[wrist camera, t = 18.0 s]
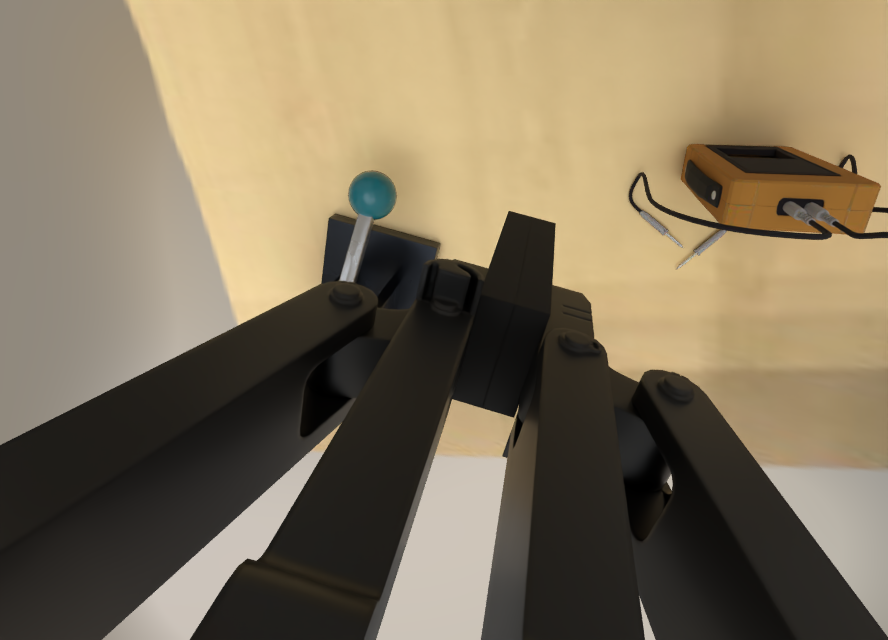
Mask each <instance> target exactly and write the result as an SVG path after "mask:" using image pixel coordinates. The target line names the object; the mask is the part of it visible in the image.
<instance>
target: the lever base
mask: <svg viewBox="0 0 888 640" xmlns="http://www.w3.org/2000/svg"><path fill="white" fill-rule="evenodd" d="M355 224H356V220H355V219H352V218H348V217H345V216H341V215H338V214H334V215H333V216H331V217H330V218H329V221H328V230H327V239H326V248H325V257H324V265H323V274H322V283H321V284H324V283H327V282H335V281H339V279H340V276H341V272H342V269H343V265H344V262H345V258H346V255H347V252H348V248H349V245H350V241H351V238H352V234H353V231H354V227H355ZM439 248H440V243H438V242H435V241H431V240H427V239H424V238H420V237H417V236H413V235H409V234H406V233H402V232H399V231H395V230H391V229H388V228H384V227H381V226H377V225H373V227H372V230H371V234H370V237H369V241H368V244H367V248H366V251H365V255H364V258H363V262H362V265H361V269H360V272H359V276H358V279H357V282H356V284H358V285H362V286H364V287H366V288H368V289H370V290H371V291H373V292H374V294H375V295H376V296H377V298H378V305H377V308H384V309H396V310H401V309H409V308H411V306H412V304H413V303H414V301H415V299H416V295H417V290H418V286H419V281H420V276H421V272H422V267H423V264H424V263H425V262H427V261H428V260H433V259H437V257H438V253H439Z"/></svg>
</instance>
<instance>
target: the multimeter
mask: <svg viewBox="0 0 888 640" xmlns="http://www.w3.org/2000/svg"><path fill="white" fill-rule="evenodd" d="M849 158H850V161H851V165H852V172H850V171H848V170H845V169H843V167H844V165H845V164H846V162H847V160H848V159H849ZM641 176H642V177H643V181H644V186H645V191H646V195H647V198H648V200H649V201H650V203H651V204H652V205H653V206H655V207H656V208H658V209H659V210H661V211H663V212H665V213H667V214H669V215H672V216H674V217H677V218H679V219H683V220H686V221H689V222H692V223H696V224H700V225H704V226H708V227H712V228H717V229H722V230H720V231H718V232H717V233H716V234H714V235H713V236H712V237H711V238H710V239H708V240H707V241H706V242H705V243H703V244H702V245H701V246H700V247H698V248H697V249H695V250H694V252H695V253H694V254H692V255H691V256H690V257H689V258H687V259H686V260H685V261H684V262H683V263H681V264H680V265H679V266H678V267H677V268H676V269H678V268H680V267H681V266H683V265H684V264H685V263H686V262H688V261H689V260H690V259H691V258H693V257H694V256H695V255H696V254H697V255H698V256H699V255H700V253H702V252H703V251H704V250H705V249H707V248H708V247H709V246H710V245H712V244H713V243H714V242H715V241H717V240H718V239H719V238H721V237H722V236H723V235H724V234H725V233H726V231H733V232H739V233H745V234H753V235H761V236H770V237H781V238H793V239H809V240H824V239H828V238H830V237H831V236H832V233H835V234H847V235H849V236H850V237H853V238H856V239H873V238H888V232H876V233H864V232H865V229H866V227H867V224H868V221H869V218H870V216H871V213H872V212H883V213H888V208H880V207H874V204H875V202H876V199H877V196H878V193H879V191H880V188H881V186H880V184H879V183H876V182H874V181H871V180H869V179H867V178H864V177H862V176H860V175H857V167H856V161H855V158H854V156H852V155H848V156H846V157H845V158H844V159H843V161H842V163H841V164H840V166H839V167H838V166H836V165H833V164H831V163H828V162H826V161H824V160H821V159H819V158H816V157H814V156H811V155H809V154H806V153H804V152H801V151H799V150H796V149H794V148H792V147H780V146H774V147H770V146H732V145H704V144H691V145H689V146H688V147H687V151H686V156H685V161H684V166H683V171H682V176H681V180H682V182H684V183H685V185H686V186H687V187H688V188H689V189H690V190H691V192H692V193H693V194H694V195H695V196H696V198H697V199H698V200H699V201H700V202H701V203H702V204H703V205H704V206H705V208H706V209H707V210H708V211H709V212H710V213H711V214H712V215H713V216H714V217H715V219H716V220H717V221H718V222H719V223H715V222H710V221H706V220H702V219H698V218H694V217H691V216H687V215H684V214H681V213H678V212H675V211H672V210H670V209H668V208H665V207H663V206H662V205H660V204H658V203H657V202H655V201H654V200H653V198H652V196H651V193H650V190H649V186H648V181H647V177H646V175H645V174H644V172H642V173H639V174H638V176H637V177H636V179H635V181H634V182H633V184H632V186H631V189H630V192H629V200H630V203H631V204H632V206H633V207H634V208H635V209H636V210H637V211H638V212H639V214H640V215H641V216H642V217H643V218H644V219H645V220H646V221H647V222H649V223H650V224H651V225H652V226H653V227H654V228H656V229H657V230H658V231H659V232H660V233H661V234H662V235H663V236H664V235H665V234H666V235H667V236H668V237H669V238H670V239H671V240H673V241H674V242H675V243H676V244H677V245H679V246H680V247H682V248H683V246H682V245H681V244H680V243H679V242H678V241H677V240H675V239H674V238H673V237H672V236H671V235H670V234H668V233H667V232H668V229H665V228H664V227H663V226H662V225H661V224H660V223H658V222H657V221H656V220H655V219H654V218H653V217H651V216H650V215H649V214H648V213H646V212H645V211H643V210H641V209H640V208H638V207H637V206H636V205H635V203H634V202H633V200H632V193H633V189H634V187H635V185H636V183H637V182H638V180H639V178H640V177H641ZM769 230H777V231H769ZM780 231H797V232H816V233H822V234H807V233H792V232H780Z"/></svg>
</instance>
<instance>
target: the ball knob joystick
mask: <svg viewBox="0 0 888 640" xmlns="http://www.w3.org/2000/svg"><path fill="white" fill-rule="evenodd" d="M348 197H349V202H350V205H351V207H352V208H353V210H354V211H355V212H356V213H357V214H358V217H357V220H356V224H355V227H354V231H353V234H352V238H351V241H350V245H349V248H348V252H347V255H346V258H345V262H344V265H343V269H342V272H341V276H340V279H339V281H347V282H348V281H350V282H355V283H356V282H357V279H358V276H359V272H360V269H361V265H362V262H363V258H364V255H365V251H366V248H367V244H368V241H369V237H370V234H371V230H372V227H373V223H374V220H376V219H381V218H383V217H385V216H387V215H388V214H389V213H390V212H391V211H392V209H393V208H394V206H395V203H396V198H397V194H396V189H395V186H394V184H393V182H392V181H391V179H390V178H389V177H388V176H386V175H385V174H383V173H381V172H378V171H366V172H363V173H361V174H359V175H357V176H356V177H355V178H354V179H353V181H352V183H351V184H350V187H349V192H348Z"/></svg>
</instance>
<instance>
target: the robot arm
mask: <svg viewBox="0 0 888 640" xmlns="http://www.w3.org/2000/svg"><path fill="white" fill-rule="evenodd" d="M555 224H556V223H552V222H548V221H545V220H541V219H537V218H533V217H530V216H526V215H522V214H519V213H515V212H511V211H509V212H508V215H507V218H506V220H505V223H504V226H503V229H502V232H501V235H500V238H499V240H498V243H497V246H496V249H495V252H494V255H493V257H492V260H491V263H490V266H489V269H488V268H484V267H481V266H477V265H474V264H470V263H466V262H463V261H459V260H456V259H454V260H449V259H433V260H428V261H427V262H425V263H424V264H423V267H422V272H421V276H420V281H419V286H418V290H417V295H416V299H415V301H414V303H413V304H412V306H411V308H409V309H401V310H396V309H384V308H377V305H378V298H377V296H376V295H375V294H374V292H373V291H371V290H370V289H368V288H366V287H364V286H362V285H358V284H356V283H355V282H350V281H348V282H347V281H335V282H327V283H324V284H320V285H318V286H316V287H314V288H312V289H310V290H308V291H306V292H304V293H302V294H300V295H298V296H296V297H294V298H292V299H290V300H288V301H286V302H284V303H282V304H280V305H278V306H276V307H274V308H272V309H270V310H268V311H266V312H264V313H262V314H260V315H258V316H256V317H254V318H252V319H250V320H248V321H246V322H244V323H242V324H240V325H239V326H237V327H235V328H233V329H231V330H229V331H227V332H225V333H223V334H221V335H219V336H217V337H215V338H213V339H211V340H209V341H207V342H205V343H203V344H201V345H199V346H197V347H195V348H193V349H191V350H189V351H187V352H185V353H183V354H181V355H179V356H177V357H175V358H173V359H171V360H169V361H167V362H165V363H163V364H161V365H159V366H157V367H155V368H153V369H151V370H149V371H147V372H145V373H143V374H141V375H139V376H137V377H135V378H133V379H131V380H129V381H127V382H125V383H123V384H121V385H119V386H117V387H115V388H113V389H111V390H109V391H107V392H105V393H103V394H101V395H99V396H97V397H95V398H93V399H91V400H89V401H87V402H85V403H83V404H81V405H79V406H77V407H75V408H73V409H71V410H70V411H67V412H66V413H63V414H61V415H60V416H58V417H55V418H54V419H51V420H49V421H48V422H46V423H43V424H42V425H40V426H38V427H36V428H34V429H32V430H30V431H28V432H26V433H24V434H22V435H20V436H18V437H16V438H14V439H12V440H10V441H8V442H6V443H4V444H2V445H0V640H102V639H103V638H104V637H105V636H106V635H107V634H108V633H110V632H111V631H112V630H113V629H114V628H115V627H116V626H117V625H118V624H119V623H121V622H122V621H123V620H124V619H125V618H126V617H127V616H128V615H129V614H130V613H132V612H133V611H134V610H135V609H136V608H137V607H138V606H139V605H141V604H142V603H143V602H144V601H145V600H146V599H147V598H148V597H149V596H150V595H152V594H153V593H154V592H155V591H156V590H157V589H158V588H159V587H160V586H162V585H163V584H164V583H165V582H166V581H167V580H168V579H169V578H170V577H171V576H173V575H174V574H175V573H176V572H177V571H178V570H179V569H180V568H181V567H182V566H184V565H185V564H186V563H187V562H188V561H189V560H190V559H191V558H192V557H194V556H195V555H196V554H197V553H198V552H199V551H200V550H201V549H202V548H204V547H205V546H206V545H207V544H208V543H209V542H210V541H211V540H212V539H213V538H215V537H216V536H217V535H218V534H219V533H220V532H221V531H222V530H223V529H225V527H227V526H228V525H229V524H230V523H231V522H232V521H233V520H234V519H235V518H237V517H238V516H239V515H240V514H241V513H242V512H243V511H244V510H245V509H247V508H248V507H249V506H250V505H251V504H252V503H253V502H254V501H255V500H257V499H258V498H259V497H260V496H261V495H262V494H263V493H264V492H265V491H266V490H267V489H269V488H270V487H271V486H272V485H273V484H274V483H275V482H276V481H277V480H278V479H280V478H281V477H282V476H283V475H284V474H285V473H286V472H287V471H289V470H290V469H291V468H292V467H293V466H294V465H295V464H296V463H297V462H299V461H300V460H301V459H302V458H303V457H304V456H305V455H306V454H307V453H309V452H310V451H311V450H312V449H313V448H314V447H315V446H316V445H317V444H319V443H320V442H321V441H322V440H323V439H324V438H325V437H326V436H327V435H328V434H330V433H331V432H332V431H333V430H334V429H335V428H336V427H337V426H338V425H340V424H341V423H342V424H341V425H340V427H339V429H338V430H337V432H336V434H335V435H334V437H333V439H332V440H331V442H330V444H329V445H328V447H327V449H326V450H325V452H324V454H323V455H322V457H321V459H320V460H319V462H318V464H317V466H316V467H315V469H314V471H313V472H312V474H311V476H310V477H309V479H308V481H307V483H306V484H305V486H304V488H303V489H302V491H301V492H300V494H299V496H298V498H297V499H296V501H295V502H294V504H293V506H292V508H291V509H290V511H289V513H288V515H287V516H286V518H285V519H284V521H283V523H282V524H281V526H280V528H279V529H278V531H277V533H276V535H275V536H274V538H273V540H272V541H271V543H270V544H269V546H268V548H267V549H266V551H265V552H264V554H263V555H262V556H261V557H260V558H259V559H258V560H257V561H255V560H251V559H246V560H245V561H244V562H243V563H242V564H240V565H239V566H238V567H237V568H236V570H235V571H234V572H233V574H232V575H231V577H230V578H229V579H228V581H227V582H226V583H225V585H224V587H223V588H222V590H221V591H220V593H219V594H218V596H217V598H216V599H215V601H214V602H213V604H212V606H211V607H210V609H209V610H208V612H207V613H206V615H205V617H204V618H203V620H202V621H201V623H200V624H199V626H198V628H197V629H196V631H195V632H194V634H193V636H192V637H191V639H190V640H376V638H377V634H378V631H379V628H380V625H381V622H382V619H383V616H384V613H385V609H386V606H387V603H388V600H389V597H390V594H391V590H392V587H393V584H394V581H395V578H396V575H397V572H398V568H399V565H400V562H401V559H402V556H403V553H404V550H405V547H406V543H407V540H408V537H409V534H410V531H411V528H412V524H413V521H414V518H415V515H416V512H417V509H418V506H419V502H420V499H421V496H422V493H423V490H424V487H425V484H426V481H427V478H428V474H429V471H430V468H431V465H432V462H433V459H434V456H435V452H436V449H437V446H438V443H439V440H440V437H441V434H442V430H443V427H444V424H445V421H446V418H447V415H448V412H449V408H450V404H451V401H452V399H454V400H457V401H461V402H464V403H467V404H471V405H474V406H477V407H481V408H484V409H487V410H491V411H494V412H497V413H500V414H504V415H507V416H510V417H514V416H515V414H516V411H517V408H518V405H519V409H518V413H517V416H516V419H515V422H514V425H513V427H512V430H511V433H510V436H509V439H508V442H507V444H506V447H505V450H504V453H503V457H506V458H507V457H508V458H507V465H506V471H505V478H504V485H503V492H502V499H501V506H500V513H499V520H498V526H497V533H496V540H495V547H494V554H493V561H492V568H491V574H490V581H489V588H488V595H487V602H486V609H485V616H484V622H483V629H482V636H481V640H645V637H644V629H643V622H642V614H641V607H640V599H639V596H640V598H641V601H642V604H643V607H644V609H645V612H646V615H647V617H648V620H649V622H650V626H651V628H652V631H653V633H654V636H655V639H656V640H888V637H887V635H886V634H885V633H884V632H883V630H882V629H881V628H880V626H879V625H878V624H877V622H876V621H875V619H874V618H873V617H872V615H871V614H870V613H869V611H868V610H867V609H866V607H865V606H864V605H863V603H862V602H861V601H860V599H859V598H858V597H857V595H856V594H855V593H854V591H853V590H852V589H851V587H850V586H849V585H848V583H847V582H846V581H845V579H844V578H843V577H842V575H841V574H840V573H839V571H838V570H837V569H836V567H835V566H834V565H833V563H832V562H831V561H830V559H829V558H828V557H827V555H826V554H825V553H824V551H823V550H822V549H821V547H820V546H819V545H818V543H817V542H816V541H815V539H814V538H813V537H812V535H811V534H810V533H809V531H808V530H807V528H806V527H805V526H804V524H803V523H802V522H801V520H800V519H799V518H798V516H797V515H796V514H795V512H794V511H793V510H792V508H791V507H790V506H789V504H788V503H787V502H786V501H785V499H784V498H783V496H781V494H780V492H779V491H778V490H777V488H776V487H775V486H774V484H773V483H772V482H771V481H770V479H769V478H768V476H767V475H766V474H765V473H764V471H763V470H762V468H761V467H760V466H759V464H758V463H757V462H756V460H755V459H754V458H753V456H752V455H751V454H750V452H749V451H748V450H747V448H746V447H745V446H744V444H743V443H742V442H741V440H740V439H739V438H738V436H737V435H736V434H735V432H734V431H733V430H732V428H731V427H730V426H729V424H728V423H727V422H726V420H725V419H724V418H723V416H722V415H721V413H720V412H719V411H718V409H717V408H716V407H715V405H714V404H713V403H712V401H711V400H710V399H709V397H708V396H707V395H706V394H705V393H704V392H703V391H702V390H701V389H700V388H699V387H698V386H697V385H695V384H694V383H692V382H691V381H690V380H689V379H688V378H686V377H684V376H680V375H679V374H677V373H674V372H667V371H663V370H650V371H647V372H644V374H643V376H642V378H641V380H640V382H637V381H634V380H632V379H630V378H628V377H626V376H624V375H622V374H620V373H618V372H616V371H614V370H613V369H612V368H610V367H609V366H608V359H607V353H606V351H605V348H604V347H603V346H602V345H601V344H600V343H599V342H598V341H597V340H596V339H594V331H593V322H592V315H591V313H592V311H591V303H590V302H589V301H588V300H587V299H586V297H585V296H584V295H583V294H582V293H579V292H575V291H572V290H568V289H565V288H561V287H557V286H554V285H552V279H553V261H554V242H555ZM671 474H672V480H673V487H672V490H671V489H670V487H669V485H668V483H667V480H668V478H669V477H670V475H671Z"/></svg>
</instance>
